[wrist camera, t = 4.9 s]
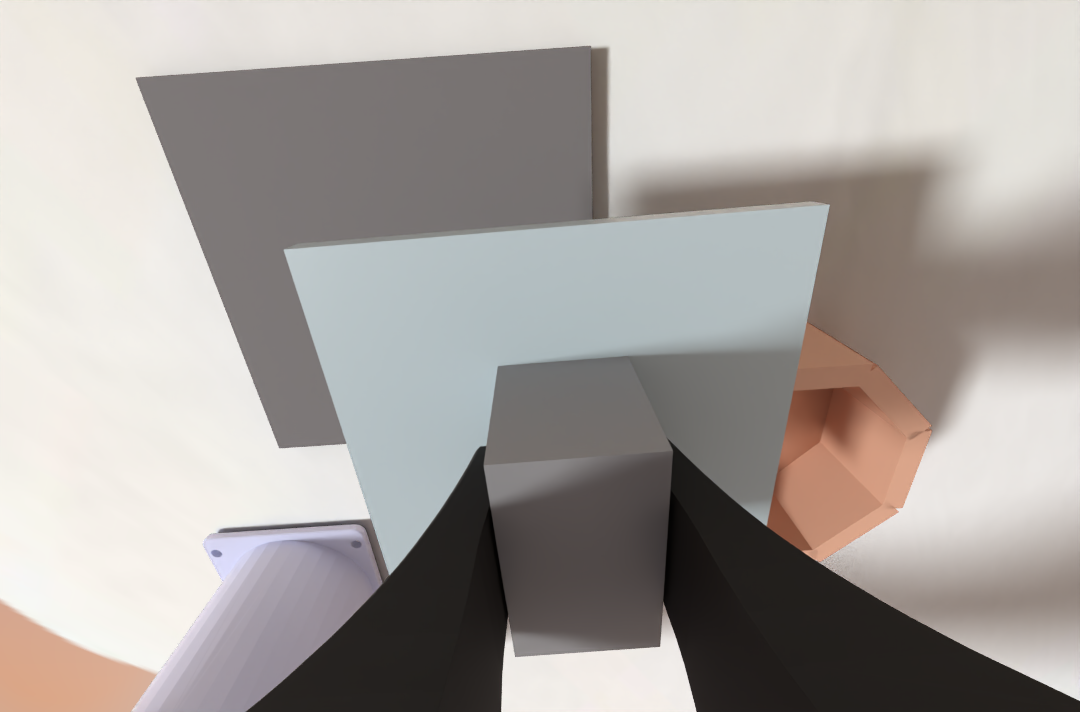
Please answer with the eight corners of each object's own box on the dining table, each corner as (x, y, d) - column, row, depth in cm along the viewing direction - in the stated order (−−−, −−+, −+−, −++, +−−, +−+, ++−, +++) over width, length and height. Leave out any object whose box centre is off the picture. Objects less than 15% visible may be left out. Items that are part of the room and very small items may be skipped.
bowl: (816, 482, 22) (882, 559, 18) (634, 494, 22) (658, 573, 18) (861, 310, 18) (960, 357, 14) (640, 325, 18) (674, 376, 14)
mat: (593, 421, 20) (594, 427, 19) (285, 441, 20) (279, 448, 19) (588, 49, 14) (590, 45, 13) (148, 79, 14) (135, 77, 13)
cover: (746, 563, 14) (825, 713, 10) (404, 589, 14) (360, 745, 10) (812, 201, 9) (1000, 236, 6) (297, 243, 9) (148, 305, 6)
